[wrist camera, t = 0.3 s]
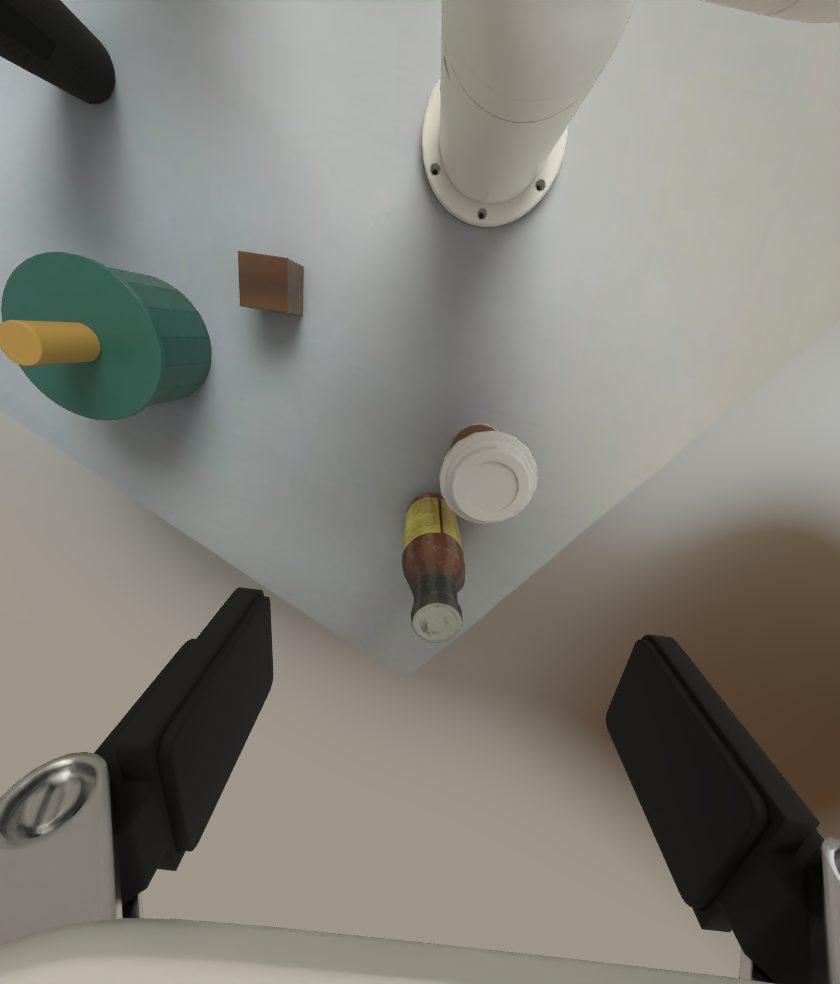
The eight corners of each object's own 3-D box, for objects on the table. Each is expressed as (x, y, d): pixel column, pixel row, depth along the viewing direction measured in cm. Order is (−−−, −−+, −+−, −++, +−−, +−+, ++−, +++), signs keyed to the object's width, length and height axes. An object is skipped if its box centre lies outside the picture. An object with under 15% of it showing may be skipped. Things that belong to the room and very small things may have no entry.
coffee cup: (490, 498, 47) (507, 548, 36) (424, 465, 46) (421, 507, 35) (532, 434, 44) (564, 467, 33) (462, 396, 43) (471, 417, 32)
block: (259, 259, 39) (237, 250, 34) (303, 266, 39) (287, 258, 35) (260, 309, 40) (239, 306, 36) (302, 315, 40) (287, 312, 36)
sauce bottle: (399, 527, 49) (378, 640, 31) (415, 484, 47) (403, 579, 29) (447, 543, 50) (454, 663, 31) (465, 501, 48) (485, 605, 29)
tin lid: (-4, 243, 32) (-110, 220, 26) (160, 267, 32) (94, 251, 26) (35, 407, 37) (-45, 421, 31) (177, 427, 37) (125, 445, 31)
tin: (84, 267, 39) (-4, 249, 32) (207, 284, 40) (150, 272, 32) (105, 391, 44) (33, 403, 36) (215, 407, 44) (167, 422, 37)
